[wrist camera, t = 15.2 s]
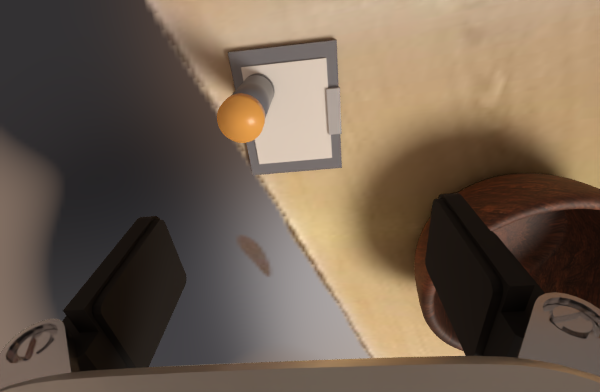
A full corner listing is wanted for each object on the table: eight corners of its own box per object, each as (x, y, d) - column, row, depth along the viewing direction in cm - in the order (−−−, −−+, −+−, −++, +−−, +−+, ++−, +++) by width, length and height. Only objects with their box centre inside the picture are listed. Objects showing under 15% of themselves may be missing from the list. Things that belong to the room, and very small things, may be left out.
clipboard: (336, 39, 31) (337, 40, 30) (342, 165, 38) (342, 169, 37) (229, 52, 32) (226, 53, 31) (253, 173, 39) (252, 177, 38)
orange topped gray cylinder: (272, 70, 32) (258, 94, 23) (278, 104, 34) (267, 140, 25) (238, 74, 32) (211, 100, 23) (245, 109, 34) (223, 145, 25)
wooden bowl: (570, 284, 48) (630, 346, 39) (406, 307, 52) (426, 368, 43) (614, 133, 36) (714, 174, 27) (393, 176, 39) (418, 225, 30)
